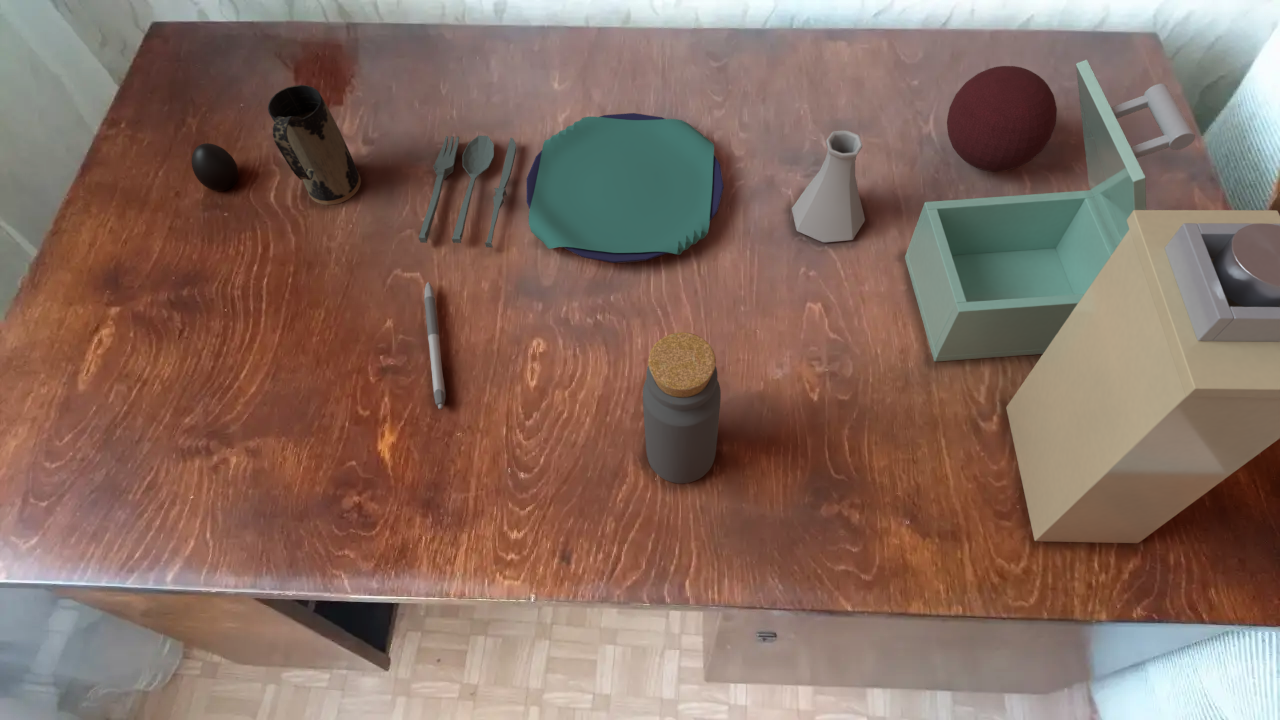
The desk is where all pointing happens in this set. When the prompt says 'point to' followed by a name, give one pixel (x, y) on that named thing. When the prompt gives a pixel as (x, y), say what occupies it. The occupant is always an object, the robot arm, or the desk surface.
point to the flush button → (1251, 266)
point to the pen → (434, 346)
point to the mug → (313, 144)
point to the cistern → (1148, 386)
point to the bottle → (681, 407)
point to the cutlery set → (604, 187)
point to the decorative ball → (1001, 118)
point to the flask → (832, 194)
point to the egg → (214, 167)
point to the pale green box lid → (1123, 146)
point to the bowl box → (1004, 270)
